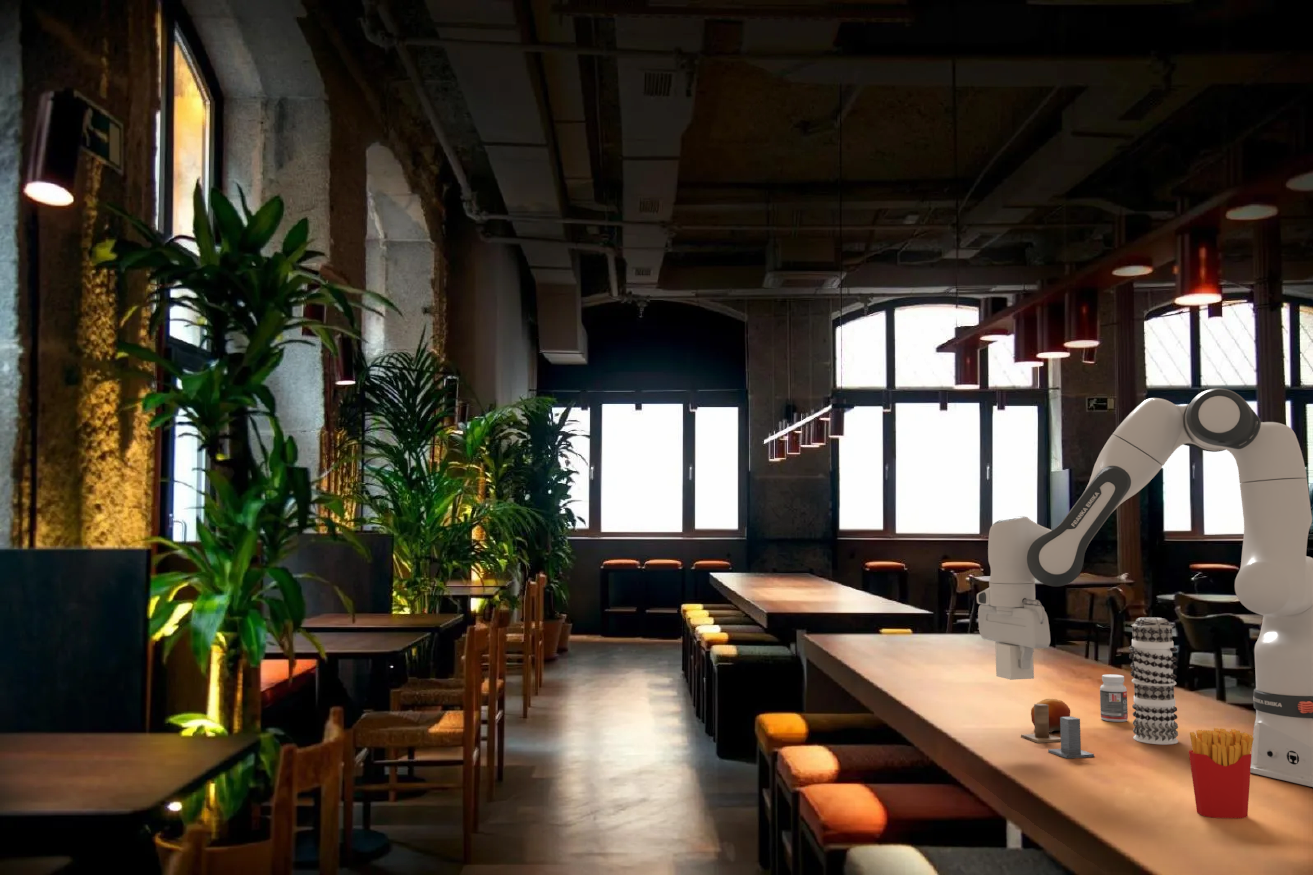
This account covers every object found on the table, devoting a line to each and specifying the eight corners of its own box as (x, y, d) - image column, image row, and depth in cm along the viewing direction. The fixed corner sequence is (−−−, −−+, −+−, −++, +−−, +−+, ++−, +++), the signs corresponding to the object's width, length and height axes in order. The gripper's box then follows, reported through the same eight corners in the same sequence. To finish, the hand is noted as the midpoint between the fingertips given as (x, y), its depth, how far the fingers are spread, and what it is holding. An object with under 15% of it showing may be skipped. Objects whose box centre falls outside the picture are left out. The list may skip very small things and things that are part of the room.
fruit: (1051, 730, 230) (1039, 694, 235) (1033, 743, 236) (1021, 708, 241) (1084, 728, 232) (1071, 692, 237) (1065, 741, 238) (1052, 706, 243)
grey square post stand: (1094, 756, 212) (1093, 720, 212) (1066, 758, 210) (1065, 721, 211) (1074, 750, 218) (1073, 714, 218) (1048, 752, 216) (1047, 715, 217)
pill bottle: (1130, 723, 245) (1129, 678, 246) (1103, 722, 247) (1102, 677, 247) (1124, 718, 251) (1123, 674, 252) (1098, 717, 252) (1097, 673, 253)
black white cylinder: (1155, 734, 233) (1151, 615, 235) (1190, 742, 224) (1186, 619, 226) (1121, 737, 230) (1117, 617, 231) (1156, 746, 221) (1152, 621, 223)
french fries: (1198, 817, 170) (1195, 732, 171) (1187, 810, 174) (1184, 727, 175) (1260, 819, 169) (1257, 733, 170) (1248, 811, 173) (1244, 727, 174)
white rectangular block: (1033, 678, 219) (1032, 645, 219) (1010, 679, 217) (1009, 646, 218) (1019, 675, 224) (1017, 642, 224) (996, 676, 222) (995, 643, 223)
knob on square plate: (1063, 741, 226) (1062, 706, 227) (1037, 742, 225) (1037, 708, 225) (1046, 735, 232) (1045, 701, 232) (1021, 737, 230) (1020, 703, 231)
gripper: (1057, 600, 213) (1059, 672, 212) (998, 593, 232) (1000, 659, 231) (1028, 601, 211) (1031, 674, 210) (971, 594, 231) (974, 661, 230)
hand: (1014, 666), depth 221 cm, fingers closed on white rectangular block, 5 cm apart
